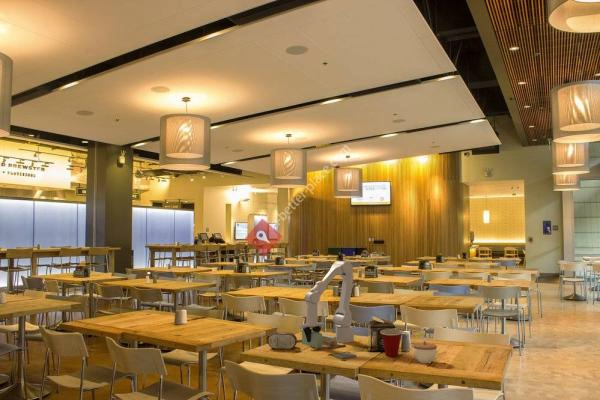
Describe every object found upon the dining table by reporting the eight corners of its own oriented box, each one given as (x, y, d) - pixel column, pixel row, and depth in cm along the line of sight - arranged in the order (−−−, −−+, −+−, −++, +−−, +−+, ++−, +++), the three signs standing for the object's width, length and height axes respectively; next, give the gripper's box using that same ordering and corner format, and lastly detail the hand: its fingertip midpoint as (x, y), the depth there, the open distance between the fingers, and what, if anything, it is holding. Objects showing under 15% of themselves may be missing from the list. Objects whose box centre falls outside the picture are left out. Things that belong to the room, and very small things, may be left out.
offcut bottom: (323, 341, 277) (323, 337, 277) (337, 345, 267) (337, 341, 267) (316, 342, 275) (316, 338, 275) (329, 346, 265) (329, 342, 265)
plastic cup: (375, 356, 247) (375, 330, 248) (388, 352, 255) (387, 328, 256) (394, 359, 240) (394, 333, 241) (407, 356, 248) (406, 330, 249)
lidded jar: (411, 359, 241) (410, 338, 242) (434, 359, 241) (433, 339, 242) (415, 364, 231) (415, 343, 231) (439, 365, 230) (439, 343, 231)
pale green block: (306, 344, 272) (307, 329, 273) (322, 349, 261) (322, 333, 261) (301, 345, 271) (301, 330, 271) (317, 350, 259) (317, 334, 260)
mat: (335, 350, 260) (335, 348, 260) (356, 356, 245) (356, 355, 245) (320, 352, 255) (320, 350, 255) (341, 359, 240) (341, 357, 241)
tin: (297, 348, 263) (297, 332, 263) (296, 350, 259) (296, 333, 260) (268, 348, 264) (268, 331, 265) (267, 349, 261) (267, 332, 262)
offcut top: (324, 337, 276) (324, 334, 276) (336, 340, 268) (336, 336, 268) (318, 338, 273) (318, 334, 274) (331, 341, 266) (331, 337, 266)
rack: (320, 340, 282) (320, 337, 283) (345, 348, 264) (345, 344, 264) (292, 344, 273) (292, 340, 273) (317, 352, 254) (317, 348, 254)
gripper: (318, 313, 274) (318, 338, 273) (296, 315, 266) (295, 341, 265) (326, 314, 268) (326, 341, 267) (303, 317, 260) (303, 344, 259)
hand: (311, 341), depth 266 cm, fingers closed on pale green block, 3 cm apart
